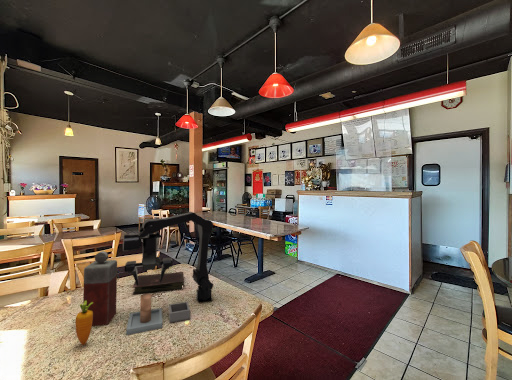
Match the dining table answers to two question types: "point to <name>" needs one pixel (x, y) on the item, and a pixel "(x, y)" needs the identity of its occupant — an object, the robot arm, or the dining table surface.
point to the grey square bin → (179, 312)
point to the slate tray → (137, 326)
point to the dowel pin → (145, 308)
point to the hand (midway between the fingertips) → (149, 283)
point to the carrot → (84, 323)
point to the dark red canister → (101, 288)
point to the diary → (158, 283)
